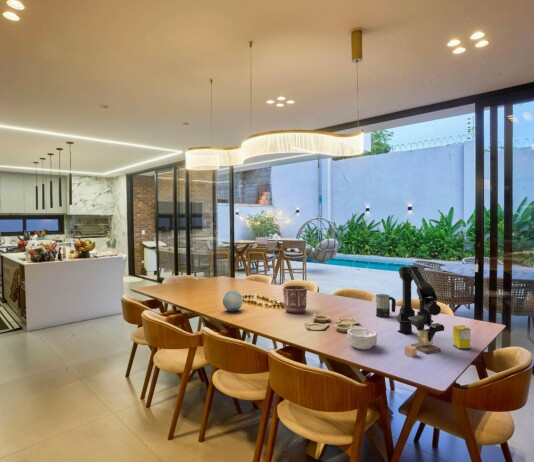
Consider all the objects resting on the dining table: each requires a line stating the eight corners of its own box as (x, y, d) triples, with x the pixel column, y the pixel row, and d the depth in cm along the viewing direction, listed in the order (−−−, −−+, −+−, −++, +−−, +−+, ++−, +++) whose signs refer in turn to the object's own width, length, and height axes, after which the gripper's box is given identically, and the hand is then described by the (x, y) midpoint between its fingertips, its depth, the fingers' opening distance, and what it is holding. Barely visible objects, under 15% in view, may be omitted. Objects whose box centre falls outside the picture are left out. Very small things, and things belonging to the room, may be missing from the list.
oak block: (417, 341, 179) (417, 330, 179) (424, 340, 181) (424, 329, 181) (425, 345, 174) (425, 333, 174) (432, 343, 176) (432, 332, 176)
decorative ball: (245, 308, 262) (244, 289, 261) (240, 314, 247) (239, 293, 246) (226, 308, 264) (226, 288, 264) (220, 313, 249) (220, 292, 249)
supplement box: (463, 345, 182) (463, 325, 182) (470, 349, 176) (470, 328, 176) (452, 345, 182) (452, 325, 182) (459, 349, 176) (459, 328, 176)
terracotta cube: (404, 354, 170) (404, 346, 170) (409, 352, 173) (409, 345, 173) (412, 357, 167) (412, 349, 167) (416, 355, 169) (416, 347, 169)
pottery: (301, 307, 264) (300, 284, 263) (311, 313, 247) (310, 288, 247) (279, 309, 258) (279, 286, 258) (288, 315, 242) (288, 290, 241)
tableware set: (360, 321, 229) (360, 315, 228) (360, 335, 200) (360, 328, 200) (308, 317, 238) (308, 311, 238) (301, 330, 210) (301, 324, 210)
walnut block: (410, 347, 180) (410, 344, 180) (424, 345, 184) (424, 341, 184) (425, 354, 171) (425, 350, 171) (440, 351, 175) (440, 348, 175)
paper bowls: (381, 345, 182) (381, 331, 182) (368, 354, 171) (368, 338, 171) (355, 339, 193) (355, 325, 192) (341, 347, 181) (341, 332, 181)
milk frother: (382, 318, 233) (382, 297, 232) (366, 313, 247) (366, 292, 247) (397, 316, 238) (398, 295, 238) (382, 310, 253) (382, 291, 252)
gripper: (400, 307, 183) (400, 336, 183) (428, 316, 165) (428, 348, 166) (415, 305, 187) (415, 333, 187) (445, 314, 169) (444, 345, 170)
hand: (425, 339), depth 177 cm, fingers closed on oak block, 5 cm apart
